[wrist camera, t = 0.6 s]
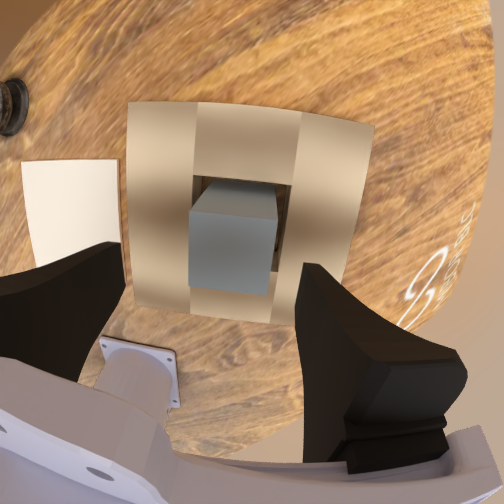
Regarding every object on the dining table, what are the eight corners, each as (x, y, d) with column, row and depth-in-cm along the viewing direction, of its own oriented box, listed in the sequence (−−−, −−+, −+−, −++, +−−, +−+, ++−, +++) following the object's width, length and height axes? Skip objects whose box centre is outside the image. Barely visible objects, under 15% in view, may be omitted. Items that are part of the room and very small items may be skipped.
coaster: (126, 280, 24) (124, 283, 23) (39, 264, 24) (36, 266, 23) (119, 158, 19) (117, 159, 19) (24, 161, 19) (21, 162, 19)
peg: (267, 239, 22) (266, 295, 15) (211, 233, 22) (188, 286, 15) (274, 184, 20) (277, 220, 13) (214, 178, 20) (189, 211, 13)
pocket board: (321, 304, 24) (326, 328, 21) (148, 283, 24) (135, 305, 21) (359, 123, 18) (374, 126, 15) (147, 102, 17) (128, 102, 15)
